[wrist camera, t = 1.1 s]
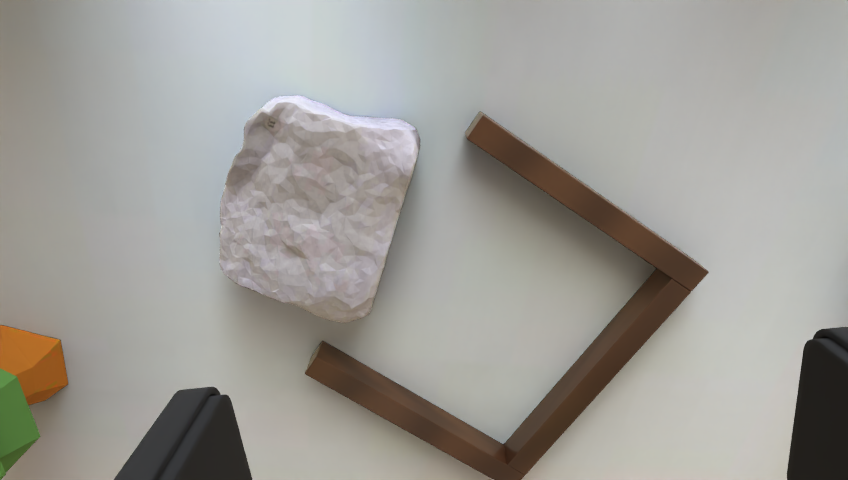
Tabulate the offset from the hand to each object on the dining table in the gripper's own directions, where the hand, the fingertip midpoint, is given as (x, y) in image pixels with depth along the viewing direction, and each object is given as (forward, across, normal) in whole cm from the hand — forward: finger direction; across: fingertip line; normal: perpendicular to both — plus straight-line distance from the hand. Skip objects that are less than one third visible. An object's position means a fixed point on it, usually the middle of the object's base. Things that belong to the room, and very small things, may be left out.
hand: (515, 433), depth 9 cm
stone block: (+24, +8, +2) cm, 26 cm away
